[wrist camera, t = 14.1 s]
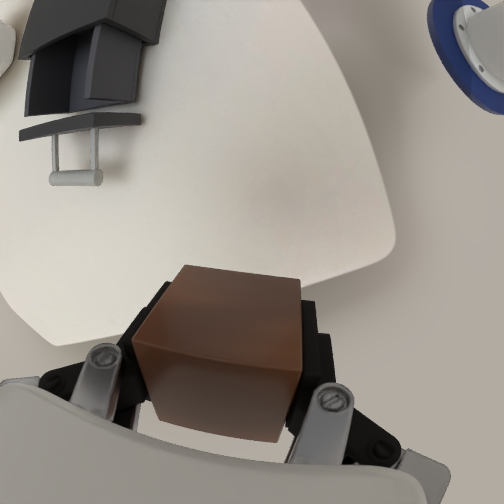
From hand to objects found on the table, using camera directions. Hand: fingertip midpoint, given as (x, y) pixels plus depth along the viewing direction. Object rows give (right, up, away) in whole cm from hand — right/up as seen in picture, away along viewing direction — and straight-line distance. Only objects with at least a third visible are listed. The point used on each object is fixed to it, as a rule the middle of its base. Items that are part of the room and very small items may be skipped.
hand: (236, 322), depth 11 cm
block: (0, 0, 0) cm, 0 cm away
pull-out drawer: (-16, +20, +11) cm, 28 cm away
